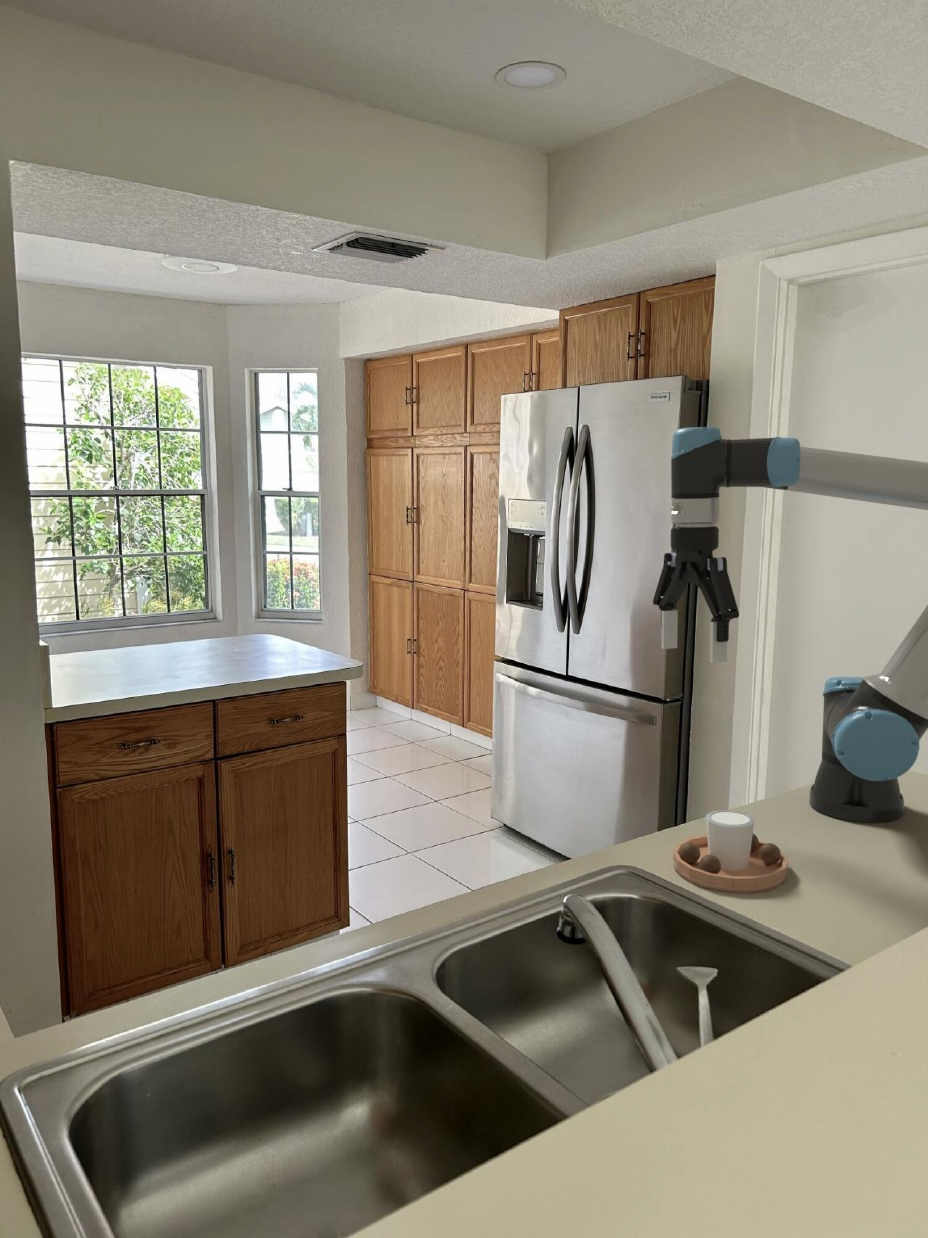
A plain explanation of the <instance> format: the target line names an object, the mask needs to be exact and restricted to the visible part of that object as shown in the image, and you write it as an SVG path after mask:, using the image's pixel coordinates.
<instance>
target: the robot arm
mask: <svg viewBox="0 0 928 1238" xmlns="http://www.w3.org/2000/svg"><path fill="white" fill-rule="evenodd" d="M721 434H722V433H721V430H720V428H719V427H717V426H715V427H714V426H701V427H700V426H699V427H698V426H697V427H683V428H682V427H681V428H679V429H677V430H675V432H674V433H673V435H672V445H671V456H670V457H671V458H670V460H671V461H670V462H671V466H670V468H671V470H670V474H671V475H670V476H671V477H670V478H671V480H670V482H671V488H670V489H671V490H670V491H671V496H670V497H671V507H670V509H671V513H670V515H671V517H670V521H671V523H672V524H674V526H672V527H671V528H670V548H671V549H672V550H675V551H676V552H665V553H664V555H663V565H662V569H661V573H660V576H659V579H658V582H657V585H656V589H655V593H654V596H653V599H652V604H653V605H654V606H658V609H659V611H660V627H661V642H660V643H661V644H660V645H661V649H662V650H668V649H669V650H670V649H678V631H679V630H678V628H679V627H678V626H679V625H678V621H679V618H678V617H679V615H678V608H679V607H678V605H677V603H678V602H679V601H680V598H681V596H682V595H683V593H684V591H685V589H686V588H687V586H688V584H689V583H691V584H695V586H696V587H697V588H699V589H700V592H701V593H702V596H703V598H704V600H705V602H706V604H707V607H708V608H709V612H710V613H711V615H712V618H711V620H710V621H709V623H710V626H709V662H710V663H713V664H714V663H723V662H728V642H729V638H730V634H729V631H730V622H731V621H732V620H734V619H739V617H740V612H739V608H738V604H737V602H736V598H735V594H734V591H733V587H732V584H731V581H730V576H729V572H728V561H727V558H726V557H725V556H721V557H714V555H713V552H714V550H717V549H718V548H719V541H720V540H719V539H720V538H719V537H720V534H719V532H720V529H719V528H718V526H716V524H718V523H719V522H720V489H721V488H766V489H773V490H780V491H790V492H795V493H796V492H797V493H798V492H799V493H803V494H812V495H817V496H824V497H825V496H826V497H833V498H839V499H847V500H853V501H858V502H859V501H861V502H866V503H867V502H868V503H873V504H874V503H875V504H881V505H883V504H884V505H889V506H896V507H902V508H910V509H917V510H925V511H928V462H927V461H918V460H913V459H912V460H910V459H904V458H894V457H887V456H880V455H879V456H878V455H872V454H863V453H854V452H848V451H847V452H846V451H839V450H832V449H831V450H830V449H824V448H813V447H808V446H807V447H806V446H801V443H800V441H799V439H797V438H795V437H782V436H777V437H776V436H774V437H762V438H759V437H758V438H741V439H730V438H729V439H726V438H722V435H721ZM823 688H824V690H823V692H822V697H823V710H822V711H823V714H822V716H823V717H822V737H821V744H822V745H821V761H820V764H819V767H818V769H817V772H816V775H815V778H814V783H813V784H812V785H811V787H810V790H809V804H810V805H809V806H810V807H812V808H813V809H814V810H815V811H817V812H819V813H821V814H824V815H826V816H829V817H833V818H837V819H840V820H845V821H846V820H847V821H852V822H858V823H859V822H861V823H862V822H863V823H884V822H890V821H894V820H897V819H899V818H902V816H903V815H904V811H905V798H904V796H903V794H902V793H901V789H900V783H899V779H898V778H899V777H901V776H903V775H904V774H906V773H907V772H908V771H909V770H910V769H911V768H912V767H913V766H914V765H915V763H916V761H917V758H918V756H919V751H920V740H921V739H922V737H923V736H924V735H925V733H926V732H927V731H928V604H927V605H926V607H925V608H924V610H923V611H922V613H921V614H920V615H919V617H918V618H917V619H916V621H915V622H914V624H913V625H912V626H911V628H910V630H909V631H908V632H907V634H906V636H905V637H904V638H903V640H902V641H901V643H900V644H899V646H898V647H897V649H896V650H895V651H894V653H893V654H892V655H891V657H889V660H888V661H887V662H886V664H885V666H884V667H883V668H882V670H881V672H879V673H877V674H872V675H867V676H865V677H863V676H862V677H861V676H860V677H859V676H835V677H834V676H833V677H830V678H828V679H827V680H826V681H825V682H824V687H823Z"/></svg>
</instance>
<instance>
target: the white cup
mask: <svg viewBox="0 0 928 1238" xmlns="http://www.w3.org/2000/svg"><path fill="white" fill-rule="evenodd" d="M705 823H706V835H707V839H708V851H709V855H713V856H715V857H717V858H718V859H719V861H720V863H721V869H722V870H728V871H739V870H744V869H746V868H747V867H748V865H749V859H750V851H751V843H752V835H753V833H754V826H755V819H754V818H753V816H751V815H750V814H747V813H745V812H741V811H738V810H736V811H735V810H727V809H726V810H723V809H722V810H716V811H715V810H714V811H710V812H709V813H707V814H706V816H705Z"/></svg>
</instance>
